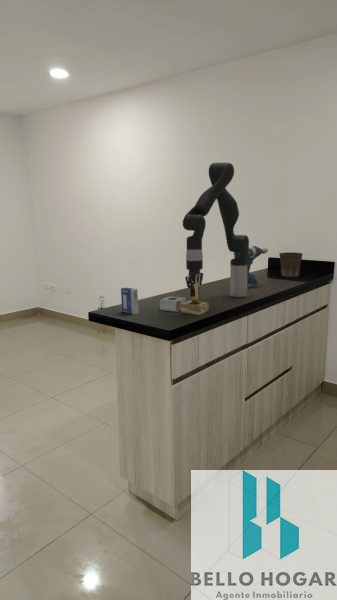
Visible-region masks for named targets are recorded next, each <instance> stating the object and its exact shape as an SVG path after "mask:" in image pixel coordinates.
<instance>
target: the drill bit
mask: <svg viewBox="0 0 337 600" xmlns="http://www.w3.org/2000/svg"><path fill="white" fill-rule="evenodd" d="M190 297H191V296H190ZM190 299H191V300H190V301H191V304H195V305H197V304H198V301H199V295H198V282H197V283H196V284H195V297H191V298H190Z"/></svg>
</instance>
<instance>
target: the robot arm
mask: <svg viewBox="0 0 337 600" xmlns="http://www.w3.org/2000/svg"><path fill="white" fill-rule="evenodd" d="M234 175H235V167H234V165H233V164H232V163H231V162H213V163H211V164H210V165H209V167H208V177H209V180H210V183H211V186H210V187H208V188H207V189H206V190H205V191H204V192H203V193H202V194H201V195H200V196H199V197H198V199H197V200H196V202H195V205H194V206H193V207H192V208H191V209H189V211H188V212H186V214H185V216H183V220H182V227H183V229H184V230H185V231H193V234H191V235H189V236H187V237H186V253H185V261H186V262H185V264H186V266H185V269H186V270H187V271H188V274H187V276H185V277H184V278H185V281H186V282H185V283H186V287H187V288H188V289H190V291H189V292H190V293H189V295H190V297H195V284H196V283H197V282H198V296H199V295H200V287H201V286H202V285H203V278H204V273H203V272H201V270H203V268H204V267H203V266H204V265H203V259H204V257H203V238H204V233H205V230H206V225H207V224H206V223H207V222H206V219H205V217H206V216H208V214H209V213H210V211H211V209H212V208H213V205H214V203H215V202H217V204H218V209H219V213H220V217H221V219H222V223H223V228H224V232H225V233H224V234H225V241H226V245H227V249H228V250H229V252H232V253H234V252H240V256H238V257H237V258H232V259H230V261H229V262H230V264H229V265H230V271H229V275H230V276H229V277H230V278H229V281H230V282H229V283H230V284H229V285H230V287H229V293H230V294H229V295H230V297H235V298H242V297H247V296H248V288H247V263H248V251H249V247H250V238H249V237H248V236H247V235H246V234H235V232H234V229H235V225H236V224H237V222H238V220H239V216H240V211H239V206H238V202H237V201H236V199H235V198H234V197H233V195H232V194H231V193H230V192H229V191H228V190H227V187H228V185H229V184H230V183H231V182H232V180H233V178H234Z"/></svg>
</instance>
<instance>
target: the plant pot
mask: <svg viewBox="0 0 337 600" xmlns="http://www.w3.org/2000/svg"><path fill="white" fill-rule="evenodd" d="M278 255H279V259H280V272H281V273H280V274H281V275H282V276H281V277H283V276H285V277H284V278H290V277H291V278H297V276H298V277H300V271H301V263H302V257H303V253H302V252H288V251H287V252H279V253H278Z"/></svg>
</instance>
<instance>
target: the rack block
mask: <svg viewBox="0 0 337 600" xmlns="http://www.w3.org/2000/svg"><path fill="white" fill-rule="evenodd" d="M209 306H210V305H209V302H207V301H200V300H198V304H197V305H195V304H191V300H188V301H187V300H186V302H185V303H182V304H181V310H180V313H183V314H184V313H185V314H190V315H199V316H200V315H203V314H204V313H207V312H208V311H209V310H210V309H209Z"/></svg>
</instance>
